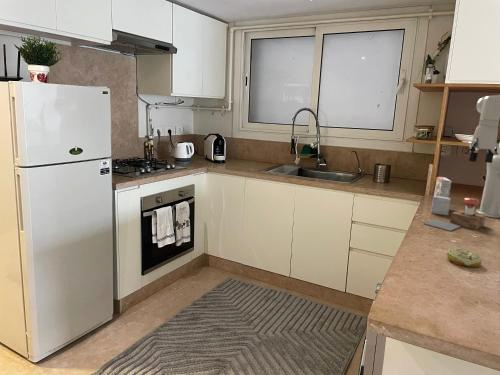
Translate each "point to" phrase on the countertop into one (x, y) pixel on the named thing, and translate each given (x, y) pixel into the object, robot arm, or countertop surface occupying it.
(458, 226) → the rubber mat
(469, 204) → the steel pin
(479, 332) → the countertop surface
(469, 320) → the countertop surface
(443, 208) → the medicine box
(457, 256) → the decorated donut
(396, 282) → the countertop surface
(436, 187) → the candy bar box
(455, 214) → the eye block
